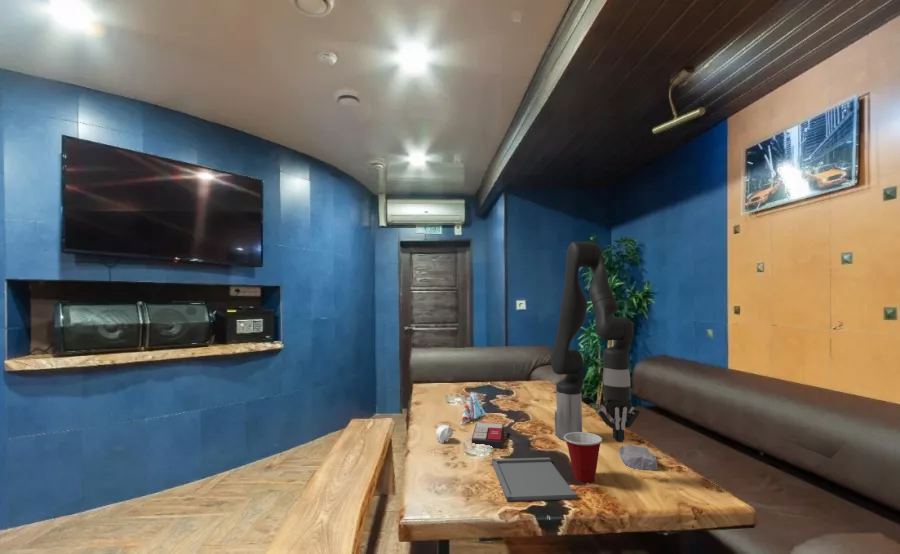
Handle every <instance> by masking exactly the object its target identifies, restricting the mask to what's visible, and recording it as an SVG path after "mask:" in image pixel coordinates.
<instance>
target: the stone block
mask: <svg viewBox="0 0 900 554" xmlns="http://www.w3.org/2000/svg"><path fill="white" fill-rule="evenodd" d="M618 452H619V458H620V459H621V462H622V464H623V463H624V464H625V465H624V464H623V465H624V466H625V467H627V466H628V467H630V468H633V469H632V470H636V469H638V470H637V471H650V470H651V471H655V472H656V471H658V460H657V458H656V455H654V453H652V452H650V451H649V448H648V447H647V446H645V447H643V446H639V445H632V444H627V445H622V446H620V447H619V448H618ZM628 467H627V468H628ZM630 468H629V469H630Z"/></svg>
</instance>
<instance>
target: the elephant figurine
mask: <svg viewBox="0 0 900 554" xmlns="http://www.w3.org/2000/svg"><path fill="white" fill-rule="evenodd" d="M434 434H435V437H436V440H437V442H438V443H440V444H445V443H448V442H449V439H450V438H451V437H452V436H453V435H454V432H453V428H452V427H451V426H449V425H447V424H444V423H443V422H440V423H439V424H438V426H437V429H436V431H435V433H434Z"/></svg>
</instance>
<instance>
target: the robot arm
mask: <svg viewBox="0 0 900 554" xmlns="http://www.w3.org/2000/svg"><path fill="white" fill-rule="evenodd" d="M580 268H587V269H588V268H589V269H591V271H592V274H593V278H592V281H591V283H590V285H589V290H588V293H589V297H590V298H589V299H590V301H591V304H592V306H593V308H594V309H593V310H594V315H595V317H594V318H595V332H596V334H597V336H598V337H599V338H600V339H601V340H604V341H616V342H615V344H614V345H613V346H611V347H607V348H605V349H603V351H602V365H603V369H602V370H603V371H602V380H603V381H602V383H603V385H602V386H603V398H604V399H603V402H602V407H601V408H597V409H596V410H595V412H596V414H597V415H598V416H599V417H600V418H601V420H602V421H603V423H604V424H605V425H606V426H607V427H609V428H611V429H612V438H613V439H614V442H617V443H624V441H625V429H627V428H631V426H632V425H633V424H634V422H635V420H636V419H637V417H638V416H639V414H640V410H639V409H636V408H635V407H634V406H633V404H632V402H631V400H632V393H631V374H630V368H629V367H630V366H629V365H630V364H629V354H630V353H629V352H630V349H631V345H632V341H633V337H634V330H635V329H634V324H633V322H632V321H631V319H630V318H628V317H626V316H625V317H624V316H612V315H614V314H616V313H617V312H618V309H619V306H618V303H617V301H616V298H615V296H614V293H613V291H612V288H611V286H610V283H609V279H608V274H607V268H606V265H605V259H604V255H603V251H602V249H601V246H599V244H597V243H595V242H590V241H577V240H576V241H572V242H570V244H569V245H568V247H567V251H566V258H565V273H564V276H565V277H564V283H563V284H564V287H563V291H562V293H563V294H562V297H561V304H560V311H559V318H558V319H559V321H558V326H557V332H556V337H555V340H554V344H553V348H552V351H551V352H552V353H551V357H550V358H551V359H550V365H551V370H552V371H553V372H554V373H555V374H556V375H560V376H561V375H565V377H564V378H562V379H561V380H560V381H558V382H557V383H556V385H555V389H556V391H555V393H556V396H555V398H556V409H554V435H555V436H557V438H559V439H560V440H562V441H565V442H566V440H565V439H564V435H566V434H568V433H573V432H583V409H582V408H583V407H582V406H583V405H582V403H583V402H582V389H583V385H584V359H583V355H582V354H581V352H580V351H579V350H578V349H570V345H571V342H572V340H573V338H574V337H575V336H576V335H577V334H578V332H579V331H580V329H581V328H582V326H583V325H584V323H585V320H586V318H587V317H586V316H587V310H588V300H587V296H586V295H585V292H584V291H583V289H582V287H581V284H580V281H579V269H580ZM607 413H608V414H607ZM608 415H609V418H608Z"/></svg>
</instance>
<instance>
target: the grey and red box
mask: <svg viewBox="0 0 900 554" xmlns="http://www.w3.org/2000/svg"><path fill="white" fill-rule="evenodd" d="M504 427H505V426H504V424H502V423H501V424H500V423H499V424H498V423H485V422H477V423H475V427H474V430H473V433H472V437H471V444H472V443H475V444H485V445H490V446H492V447H493V448H492V449H496V450H497V449H498V450H502V449H503V445H504V444H503V443H504V436H505V435H504V433H505V429H504Z"/></svg>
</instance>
